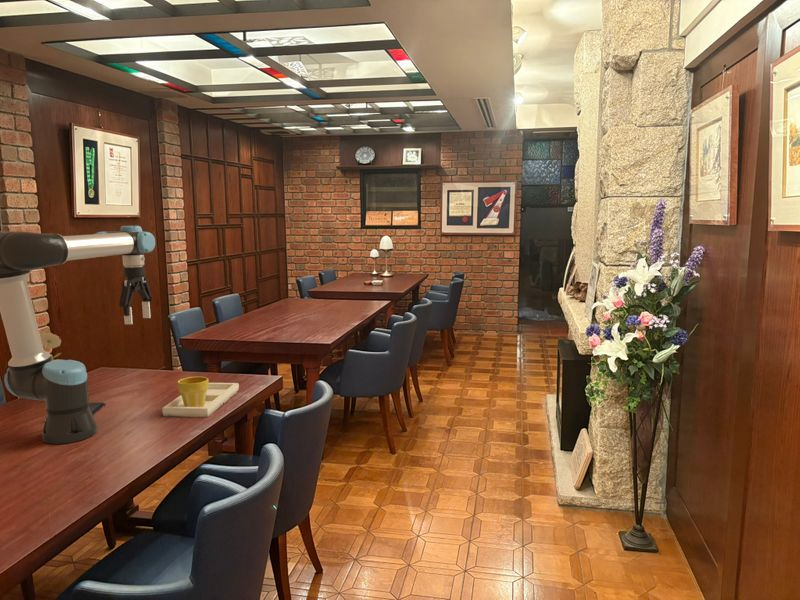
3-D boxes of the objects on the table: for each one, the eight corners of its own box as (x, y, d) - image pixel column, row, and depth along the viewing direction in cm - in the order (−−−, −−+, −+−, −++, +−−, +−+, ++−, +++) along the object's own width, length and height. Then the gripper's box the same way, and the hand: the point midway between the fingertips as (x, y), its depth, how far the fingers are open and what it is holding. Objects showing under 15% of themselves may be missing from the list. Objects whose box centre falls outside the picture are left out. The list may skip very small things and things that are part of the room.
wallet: (85, 418, 192) (37, 420, 191) (85, 424, 192) (37, 426, 191) (109, 400, 212) (66, 401, 210) (109, 405, 212) (66, 406, 211)
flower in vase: (82, 392, 226) (77, 330, 223) (59, 401, 215) (53, 336, 212) (55, 390, 229) (49, 329, 226) (30, 398, 218) (24, 334, 215)
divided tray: (207, 416, 196) (207, 408, 196) (162, 416, 197) (162, 407, 197) (238, 390, 227) (238, 383, 227) (199, 389, 228) (199, 382, 228)
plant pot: (188, 401, 211) (186, 375, 209) (214, 402, 209) (213, 376, 208) (173, 410, 200) (171, 383, 199) (201, 411, 199) (199, 384, 198)
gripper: (125, 269, 205) (130, 326, 208) (159, 263, 230) (162, 315, 233) (105, 269, 206) (110, 326, 209) (141, 263, 231) (144, 315, 234)
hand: (138, 321), depth 221 cm, fingers open, 13 cm apart
